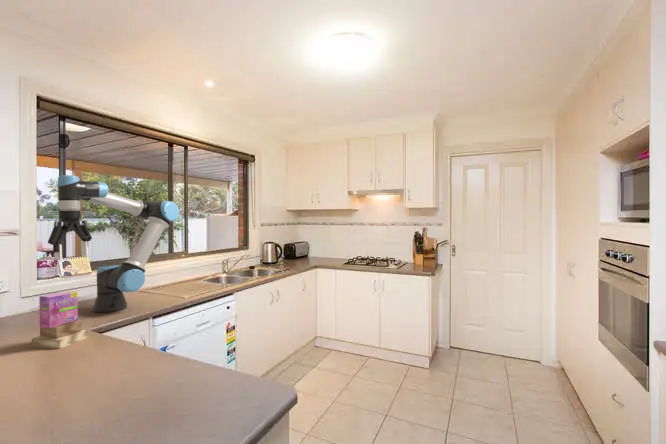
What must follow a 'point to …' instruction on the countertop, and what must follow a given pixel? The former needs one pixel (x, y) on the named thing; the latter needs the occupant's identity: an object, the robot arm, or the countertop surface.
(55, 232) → the robot arm
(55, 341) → the tower base
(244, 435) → the countertop surface
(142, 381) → the countertop surface
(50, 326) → the box
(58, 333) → the tower top
